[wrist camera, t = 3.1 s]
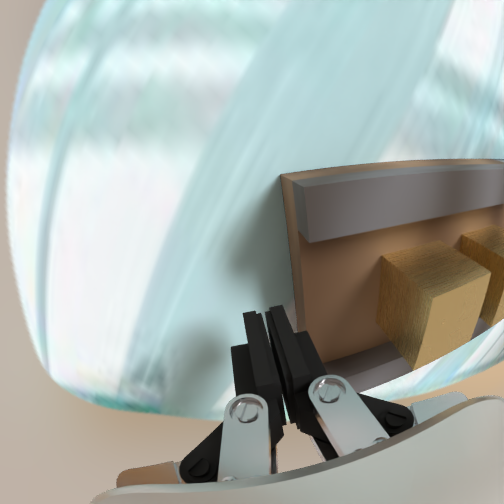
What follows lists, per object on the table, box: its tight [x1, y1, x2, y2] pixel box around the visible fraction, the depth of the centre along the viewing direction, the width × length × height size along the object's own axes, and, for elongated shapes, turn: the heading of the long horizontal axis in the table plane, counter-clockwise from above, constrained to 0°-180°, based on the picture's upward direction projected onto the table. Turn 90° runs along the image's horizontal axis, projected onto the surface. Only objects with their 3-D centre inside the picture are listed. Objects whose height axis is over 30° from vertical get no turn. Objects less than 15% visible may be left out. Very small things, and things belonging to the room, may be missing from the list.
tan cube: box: [459, 225, 504, 327], centre depth 11 cm, size 4×4×4 cm
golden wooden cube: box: [376, 240, 491, 371], centre depth 11 cm, size 4×4×4 cm
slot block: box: [280, 159, 504, 393], centre depth 13 cm, size 16×12×4 cm
